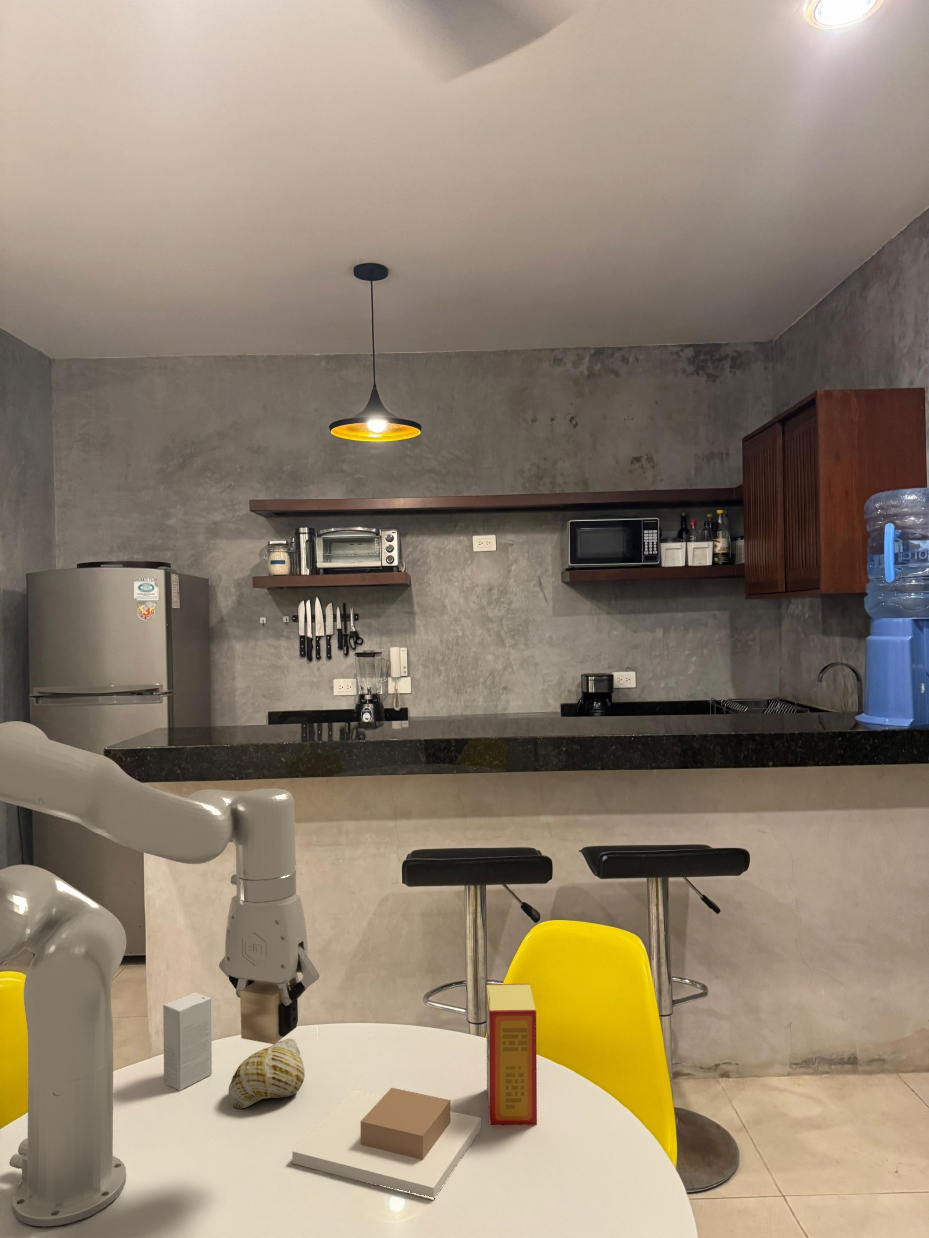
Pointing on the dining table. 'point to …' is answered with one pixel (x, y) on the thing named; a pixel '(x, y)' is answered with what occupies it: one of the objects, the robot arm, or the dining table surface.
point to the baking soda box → (511, 1054)
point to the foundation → (390, 1140)
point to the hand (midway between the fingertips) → (269, 1027)
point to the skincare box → (187, 1040)
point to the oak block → (260, 1012)
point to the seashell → (268, 1074)
